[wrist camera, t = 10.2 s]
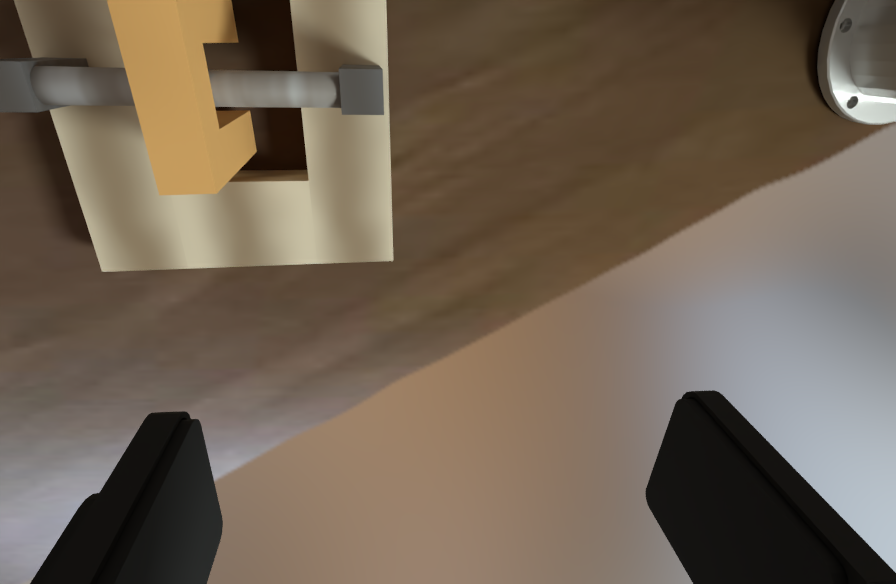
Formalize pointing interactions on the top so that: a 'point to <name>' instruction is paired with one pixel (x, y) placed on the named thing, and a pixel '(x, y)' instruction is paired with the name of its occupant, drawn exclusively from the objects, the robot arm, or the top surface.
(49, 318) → the top surface
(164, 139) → the tan wooden block
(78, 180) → the square frame with handle
